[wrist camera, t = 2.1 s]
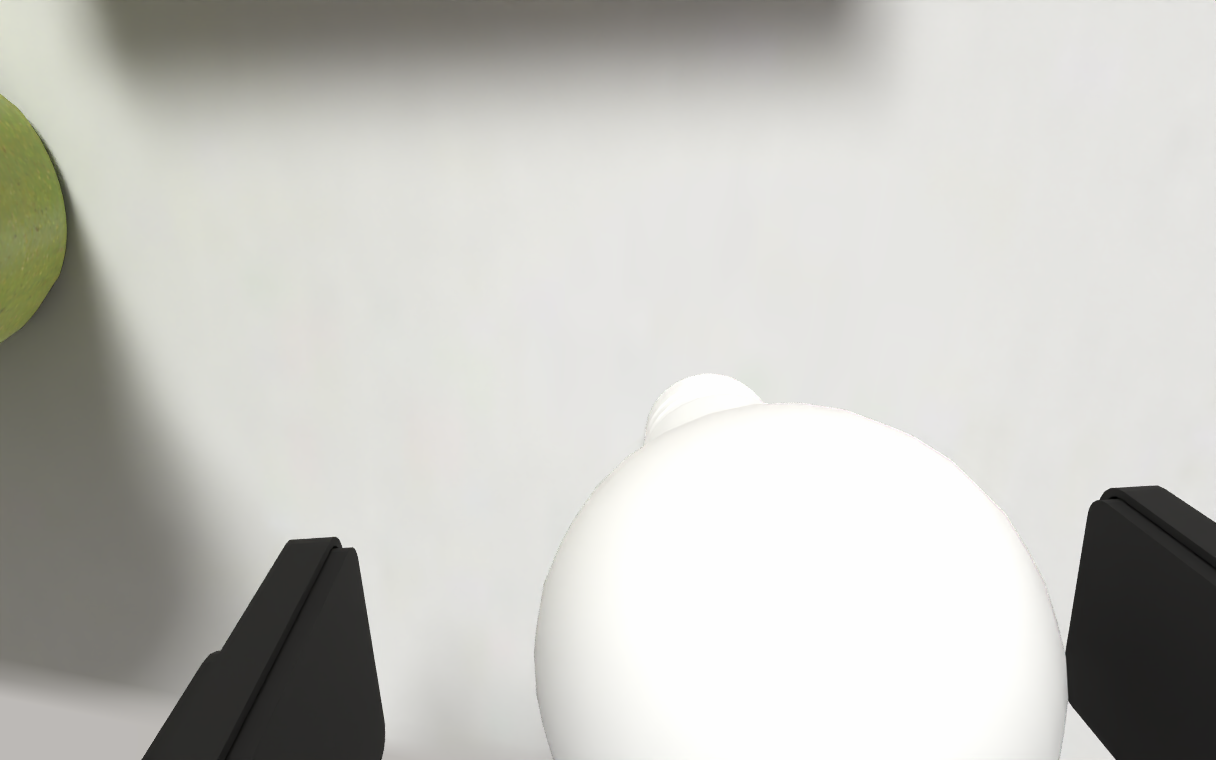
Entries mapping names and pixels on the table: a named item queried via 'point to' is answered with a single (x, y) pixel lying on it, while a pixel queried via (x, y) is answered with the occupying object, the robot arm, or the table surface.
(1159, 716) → the robot arm
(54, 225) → the plant pot
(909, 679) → the lightbulb
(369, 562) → the table surface
